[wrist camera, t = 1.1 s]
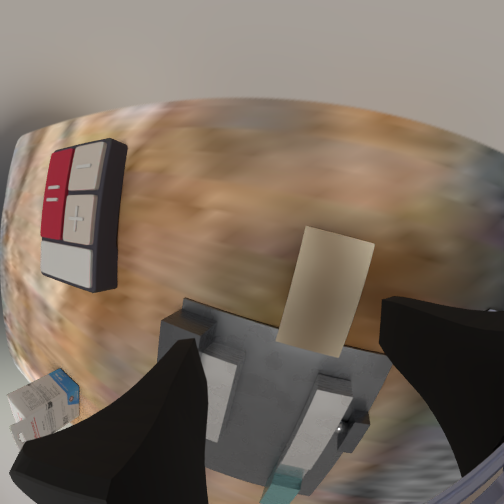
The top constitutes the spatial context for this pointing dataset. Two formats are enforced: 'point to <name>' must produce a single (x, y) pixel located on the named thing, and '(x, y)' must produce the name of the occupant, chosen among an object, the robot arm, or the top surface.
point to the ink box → (43, 406)
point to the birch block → (324, 291)
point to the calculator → (83, 214)
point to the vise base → (268, 391)
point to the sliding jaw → (308, 438)
